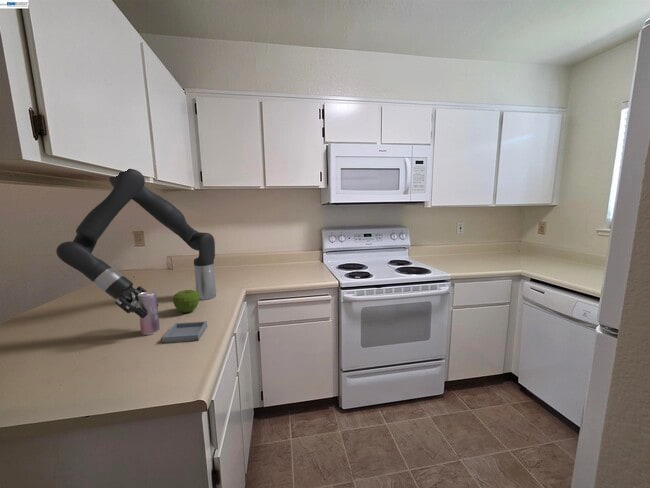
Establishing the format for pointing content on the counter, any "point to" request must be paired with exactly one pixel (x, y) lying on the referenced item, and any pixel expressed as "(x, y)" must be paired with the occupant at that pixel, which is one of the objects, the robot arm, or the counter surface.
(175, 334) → the tray
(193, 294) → the apple
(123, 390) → the counter surface
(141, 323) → the beverage can
